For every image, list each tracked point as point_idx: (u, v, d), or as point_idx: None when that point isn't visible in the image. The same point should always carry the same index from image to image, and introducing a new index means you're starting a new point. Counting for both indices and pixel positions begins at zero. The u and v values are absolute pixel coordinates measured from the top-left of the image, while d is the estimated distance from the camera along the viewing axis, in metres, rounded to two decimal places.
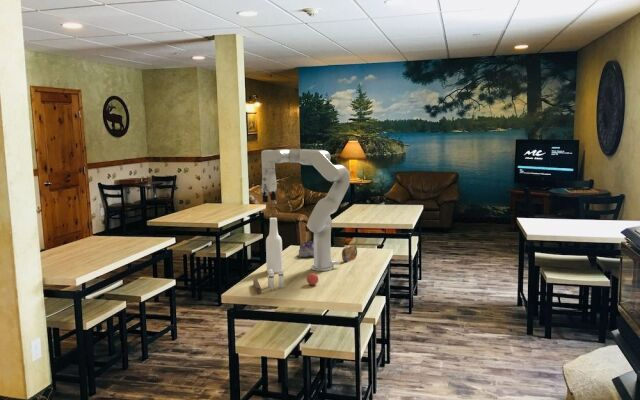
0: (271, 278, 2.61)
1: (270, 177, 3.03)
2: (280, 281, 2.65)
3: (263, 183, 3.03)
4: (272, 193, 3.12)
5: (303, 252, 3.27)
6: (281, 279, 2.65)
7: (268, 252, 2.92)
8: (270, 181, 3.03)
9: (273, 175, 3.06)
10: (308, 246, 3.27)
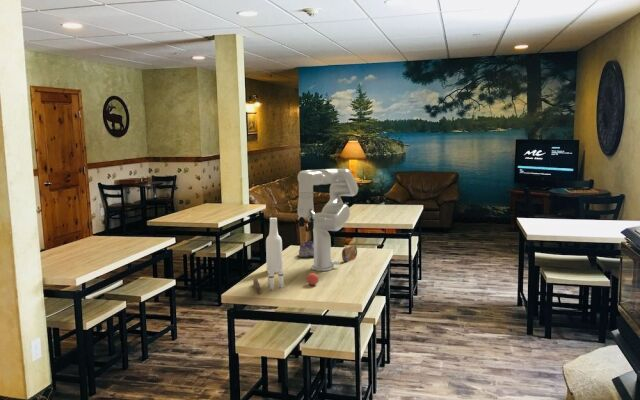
0: (271, 278, 2.61)
1: (299, 201, 2.82)
2: (280, 281, 2.65)
3: None
4: None
5: (303, 252, 3.27)
6: (281, 279, 2.65)
7: (268, 252, 2.92)
8: (298, 205, 2.82)
9: (302, 200, 2.79)
10: (308, 246, 3.27)
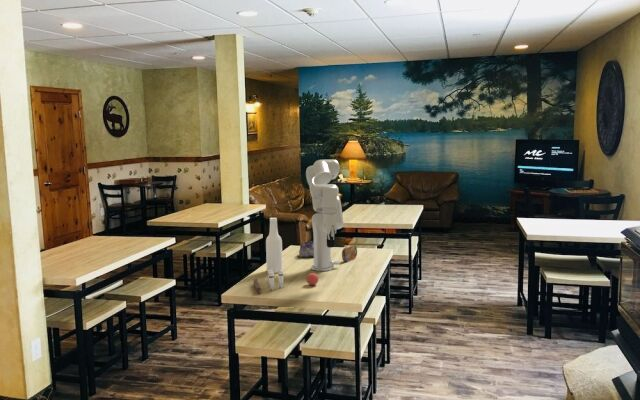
0: (271, 278, 2.61)
1: (323, 216, 2.70)
2: (280, 281, 2.65)
3: None
4: None
5: (303, 252, 3.27)
6: (281, 279, 2.65)
7: (268, 252, 2.92)
8: (323, 220, 2.70)
9: (325, 215, 2.66)
10: (308, 246, 3.27)
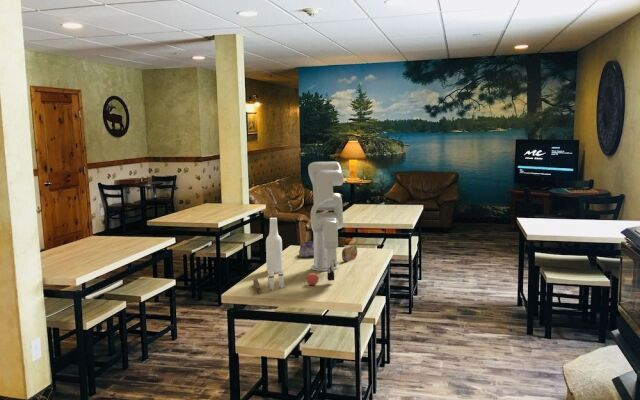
0: (271, 278, 2.61)
1: (324, 249, 2.72)
2: (280, 281, 2.65)
3: None
4: None
5: (303, 252, 3.27)
6: (281, 279, 2.65)
7: (268, 252, 2.92)
8: (324, 254, 2.72)
9: (325, 249, 2.68)
10: (308, 246, 3.27)
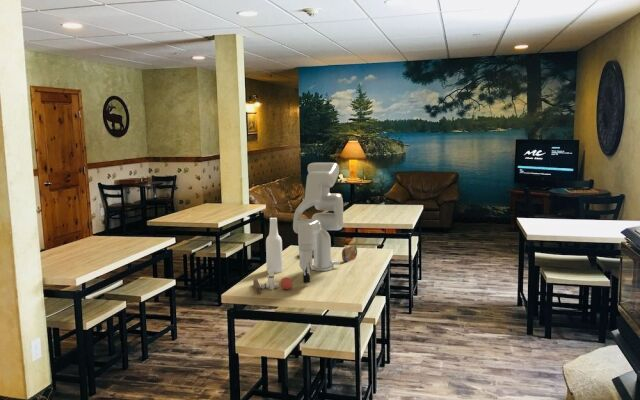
0: (271, 278, 2.61)
1: None
2: None
3: None
4: None
5: None
6: None
7: (268, 252, 2.92)
8: None
9: (301, 251, 2.66)
10: None
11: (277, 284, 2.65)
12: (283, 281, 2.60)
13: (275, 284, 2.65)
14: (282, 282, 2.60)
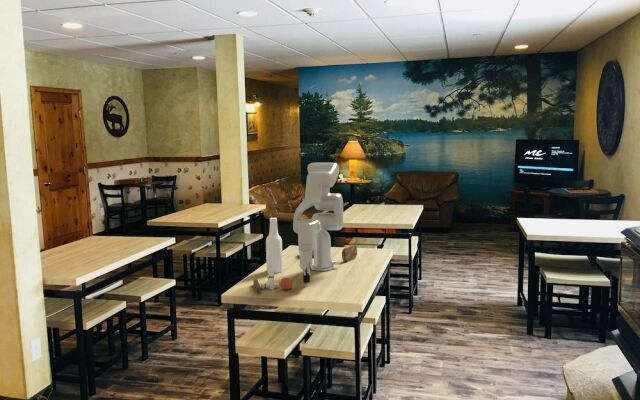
0: (271, 278, 2.61)
1: None
2: None
3: None
4: None
5: None
6: None
7: (268, 252, 2.92)
8: None
9: (301, 251, 2.66)
10: None
11: (277, 284, 2.65)
12: (283, 282, 2.60)
13: (275, 284, 2.65)
14: (282, 283, 2.60)
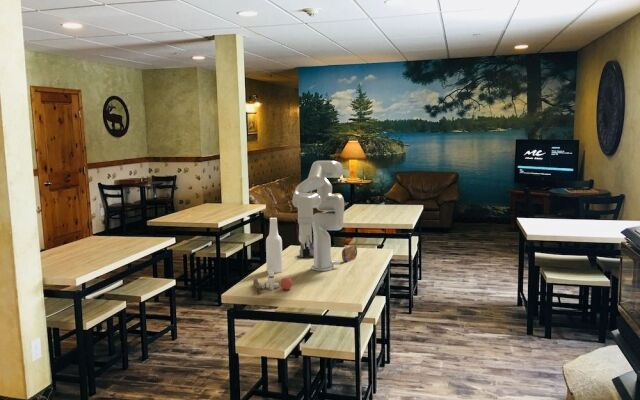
0: (271, 278, 2.61)
1: (299, 225, 2.67)
2: None
3: None
4: None
5: None
6: None
7: (268, 252, 2.92)
8: (299, 229, 2.68)
9: (300, 225, 2.64)
10: (309, 246, 3.27)
11: (277, 284, 2.65)
12: (283, 282, 2.60)
13: (275, 284, 2.65)
14: (282, 283, 2.60)
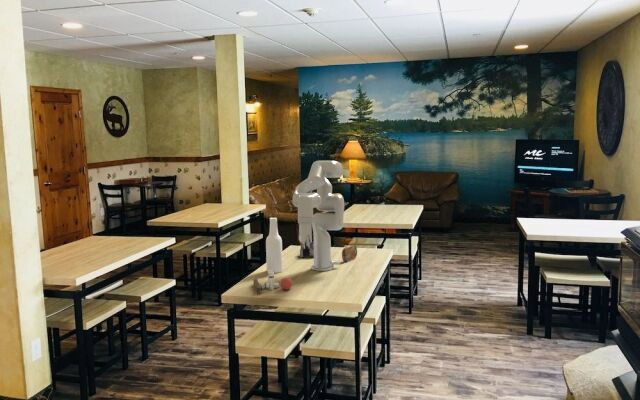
0: (271, 278, 2.61)
1: (299, 225, 2.67)
2: None
3: None
4: None
5: None
6: None
7: (268, 252, 2.92)
8: (299, 229, 2.68)
9: (300, 224, 2.64)
10: (309, 246, 3.27)
11: (277, 284, 2.65)
12: (283, 282, 2.60)
13: (275, 284, 2.65)
14: (282, 283, 2.60)
